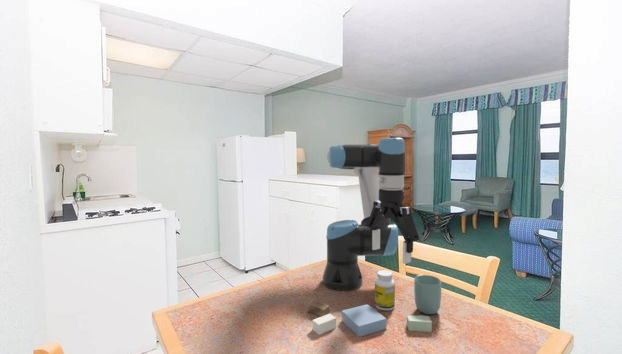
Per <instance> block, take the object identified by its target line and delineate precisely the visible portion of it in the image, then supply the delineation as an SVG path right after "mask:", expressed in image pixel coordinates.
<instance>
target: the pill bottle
mask: <svg viewBox="0 0 622 354" xmlns="http://www.w3.org/2000/svg"><path fill="white" fill-rule="evenodd" d="M395 293H396V283H395V281H394V279H393V273H392V271H390V270H386V269H385V270H384V269H383V270H382V269H381V270H378V271H377V278H375V280H374V306H375V307H376V308H377V309H378V310H381V311H385V312H386V311H387V312H388V311H392V310H394V308H395V307H396V306H395V305H396V304H395V303H396V302H395V301H396V294H395Z"/></svg>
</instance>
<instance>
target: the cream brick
mask: <svg viewBox="0 0 622 354" xmlns="http://www.w3.org/2000/svg"><path fill="white" fill-rule="evenodd" d="M336 328H337V318H336V316H334V315H332V314H331V313H330V314H327V315H324V316H322V317H316V318H315V319H312V331H314V332H315V333H316V334H317V335H318V336H319V335H322V334H325V333H327V332H329V331H332V330H334V329H336Z"/></svg>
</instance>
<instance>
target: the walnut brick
mask: <svg viewBox="0 0 622 354" xmlns="http://www.w3.org/2000/svg"><path fill="white" fill-rule="evenodd" d="M330 307H331V306H330V305H328V304H326V303H323V302H320V301H317V300H312V301H310V302H309V303H307V313H308V314H310V315H313V316H315V317H317V318H319V317H322V316H324V315H327V314H331V313H330Z"/></svg>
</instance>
